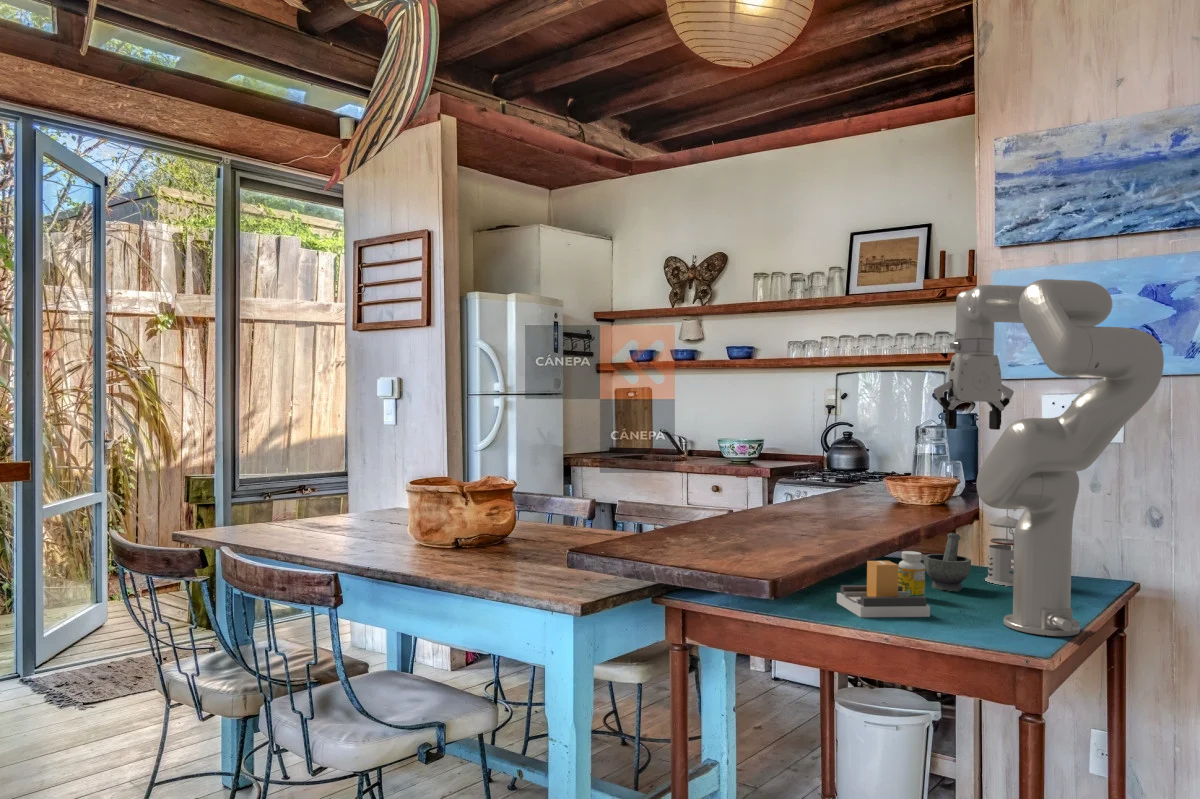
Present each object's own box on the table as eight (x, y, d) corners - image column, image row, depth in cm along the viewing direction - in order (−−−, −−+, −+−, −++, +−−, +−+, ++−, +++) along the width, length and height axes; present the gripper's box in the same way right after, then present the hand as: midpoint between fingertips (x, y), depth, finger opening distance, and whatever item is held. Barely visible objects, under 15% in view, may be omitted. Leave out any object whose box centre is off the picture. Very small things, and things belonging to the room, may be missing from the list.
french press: (976, 581, 200) (978, 474, 200) (995, 575, 208) (997, 472, 208) (1020, 589, 193) (1022, 478, 193) (1038, 581, 201) (1040, 475, 201)
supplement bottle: (930, 599, 181) (930, 554, 181) (908, 601, 179) (909, 555, 179) (913, 594, 186) (914, 549, 186) (892, 595, 184) (893, 550, 184)
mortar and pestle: (962, 595, 186) (963, 540, 186) (918, 589, 191) (919, 535, 191) (976, 586, 195) (977, 534, 195) (933, 581, 200) (934, 529, 200)
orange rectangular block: (897, 600, 170) (898, 564, 170) (876, 600, 169) (876, 564, 169) (887, 595, 174) (888, 560, 174) (866, 595, 174) (867, 560, 174)
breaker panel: (929, 616, 166) (930, 598, 166) (860, 617, 165) (860, 598, 165) (901, 602, 178) (902, 584, 178) (836, 602, 177) (837, 585, 177)
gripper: (944, 346, 178) (942, 429, 178) (1023, 348, 180) (1021, 430, 180) (927, 348, 186) (925, 427, 186) (1003, 350, 187) (1001, 429, 187)
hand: (972, 429), depth 183 cm, fingers open, 9 cm apart
